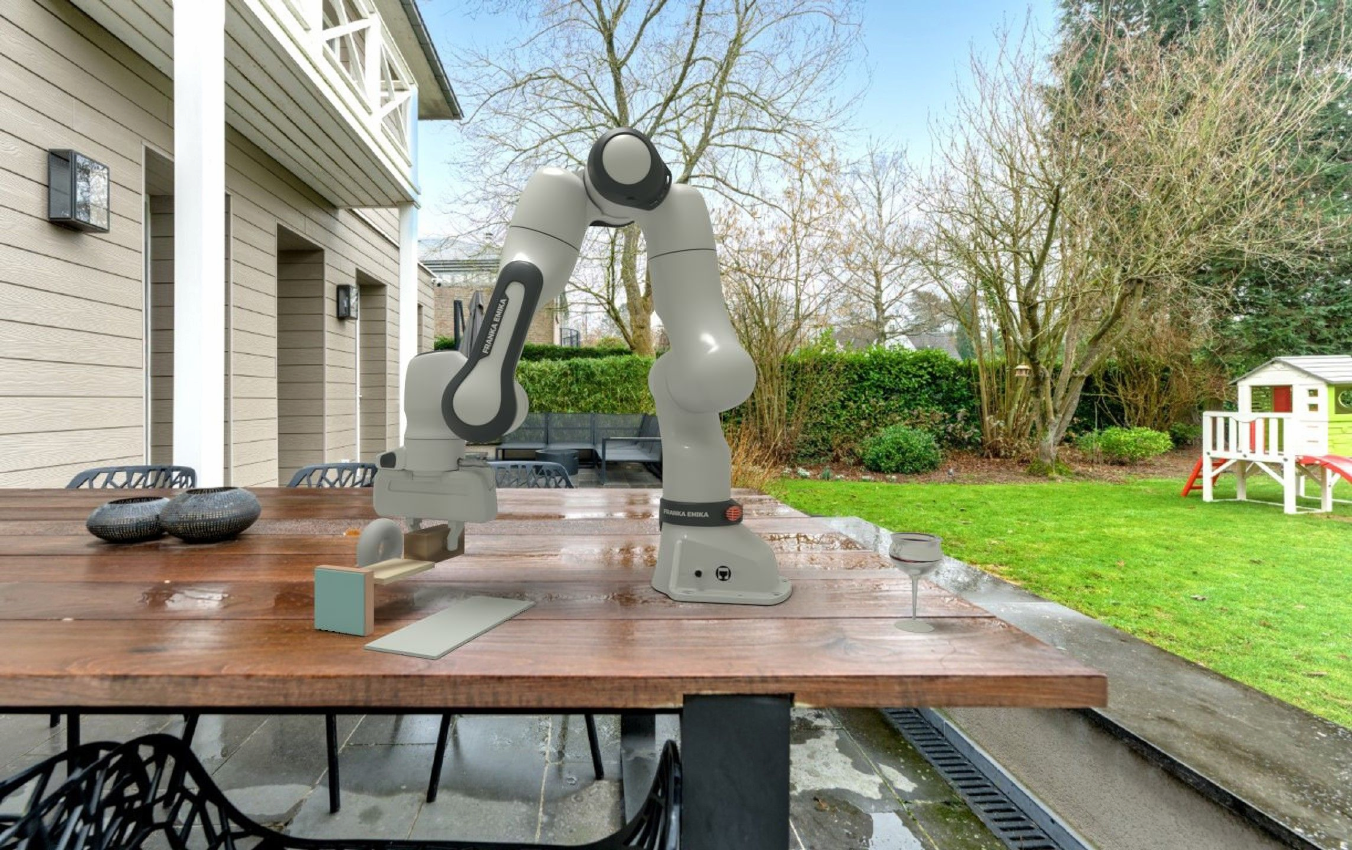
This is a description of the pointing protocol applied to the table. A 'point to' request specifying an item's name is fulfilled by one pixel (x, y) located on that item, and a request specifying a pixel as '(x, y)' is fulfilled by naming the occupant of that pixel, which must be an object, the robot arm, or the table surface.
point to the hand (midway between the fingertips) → (434, 548)
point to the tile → (344, 599)
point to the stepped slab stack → (418, 554)
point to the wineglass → (915, 566)
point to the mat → (450, 627)
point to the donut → (379, 542)
